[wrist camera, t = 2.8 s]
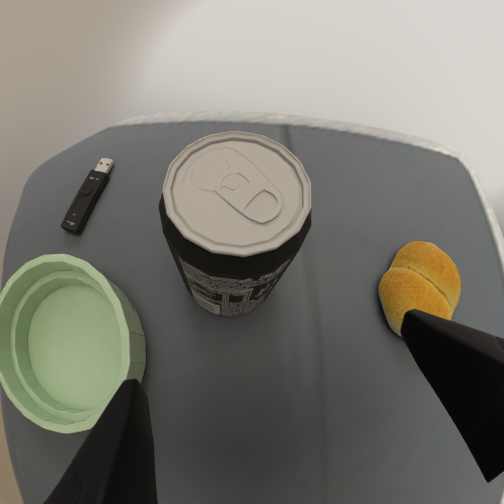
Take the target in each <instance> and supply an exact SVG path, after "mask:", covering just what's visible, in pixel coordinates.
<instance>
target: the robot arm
mask: <svg viewBox="0 0 504 504" xmlns="http://www.w3.org/2000/svg"><path fill="white" fill-rule="evenodd" d="M400 333H401V336H402V338H403V340H404V341H405V343H406V345H407V347H408V349H409V350H410V352H411V354H412V356H413V358H414V360H415V362H416V363H417V365H418V367H419V368H420V370H421V372H422V373H423V375H424V376H425V378H426V379H427V381H428V382H429V384H430V385H431V387H432V388H433V390H434V391H435V393H436V395H437V396H438V398H439V399H440V401H441V402H442V404H443V406H444V407H445V409H446V410H447V412H448V414H449V415H450V417H451V419H452V420H453V422H454V424H455V425H456V427H457V429H458V430H459V432H460V434H461V435H462V437H463V439H464V441H465V442H466V444H467V446H468V448H469V450H470V451H471V453H472V455H473V457H474V459H475V461H476V462H477V464H478V466H479V468H480V470H481V472H482V474H483V476H484V478H485V480H486V481H487V482H488V483H489V482H490V481H492V480H493V479H494V478H496V477H497V476H498V475H500V474H501V473H502V472H503V471H504V339H503V338H500V337H497V336H496V337H495V336H494V335H491V334H488V333H485V332H482V331H479V330H476V329H473V328H471V327H468V326H465V325H462V324H459V323H456V322H453V321H450V320H447V319H444V318H441V317H439V316H436V315H433V314H430V313H427V312H424V311H421V310H418V309H411V310H409V311H407V312H405V314H404V317H403V321H402V325H401V328H400ZM43 504H158V502H157V490H156V477H155V458H154V442H153V435H152V428H151V421H150V413H149V405H148V398H147V395H146V393H145V392H144V390H143V388H142V386H141V384H140V382H139V381H138V379H135V378H134V379H125V380H124V381H123V382H122V383H121V385H120V386H119V388H118V389H117V391H116V393H115V394H114V396H113V397H112V399H111V400H110V402H109V403H108V405H107V406H106V408H105V409H104V411H103V413H102V414H101V416H100V417H99V419H98V420H97V422H96V423H95V425H94V427H93V428H92V430H91V431H90V433H89V435H88V436H87V438H86V439H85V441H84V443H83V444H82V446H81V447H80V449H79V451H78V452H77V454H76V455H75V457H74V459H73V460H72V464H70V465H69V467H68V468H67V470H66V472H65V473H64V475H63V477H62V478H61V480H60V481H59V483H58V484H57V486H56V487H55V489H54V490H53V491H52V493H51V494H50V496H49V497H48V498H47V499H46V501H45V502H44V503H43Z"/></svg>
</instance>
